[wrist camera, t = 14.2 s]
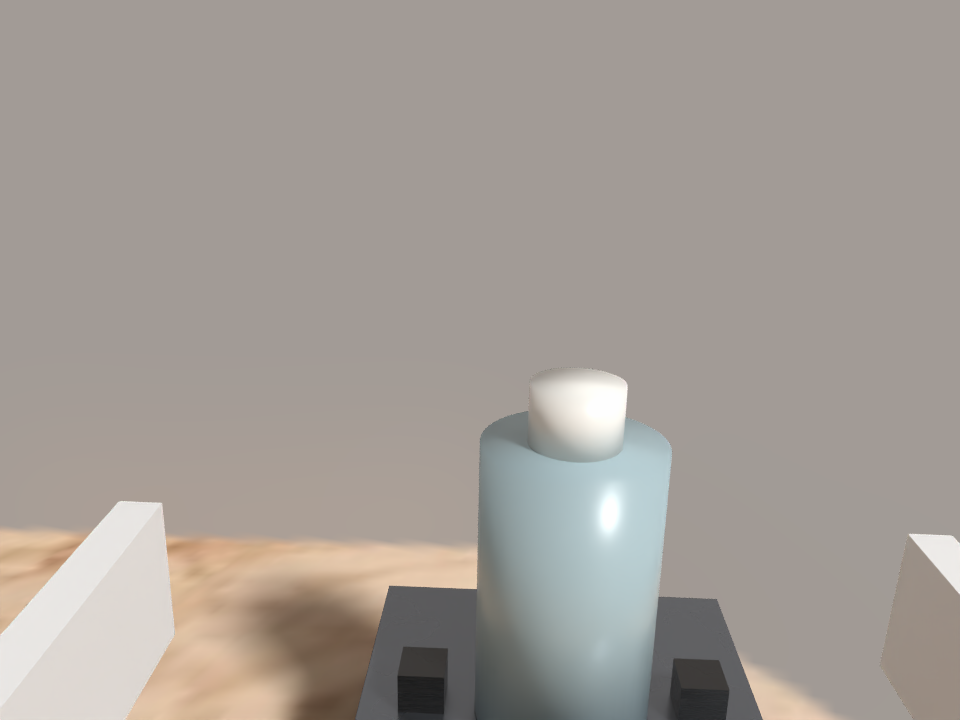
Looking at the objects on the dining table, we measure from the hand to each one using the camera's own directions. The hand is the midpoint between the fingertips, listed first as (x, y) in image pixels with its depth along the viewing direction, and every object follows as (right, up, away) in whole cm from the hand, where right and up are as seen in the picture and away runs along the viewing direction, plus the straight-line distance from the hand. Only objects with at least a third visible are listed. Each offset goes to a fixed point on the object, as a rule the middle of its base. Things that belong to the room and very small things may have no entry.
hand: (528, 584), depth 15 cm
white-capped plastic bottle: (+2, -8, +15) cm, 17 cm away
